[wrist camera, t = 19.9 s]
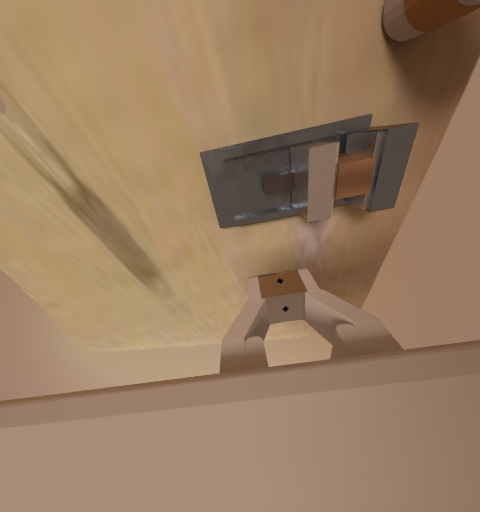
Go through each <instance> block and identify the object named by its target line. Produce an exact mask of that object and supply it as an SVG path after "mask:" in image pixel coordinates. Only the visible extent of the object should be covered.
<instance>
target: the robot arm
mask: <svg viewBox="0 0 480 512" xmlns="http://www.w3.org/2000/svg"><path fill="white" fill-rule="evenodd" d="M248 285H249V294H250V301H247V303H246V304H245V306H244V307H243V309H242V310H241V312H240V313H239V315H238V316H237V318H236V319H235V321H234V322H233V324H232V326H231V327H230V329H229V330H228V332H227V333H226V335H225V336H224V338H223V339H222V346H221V361H220V373H219V374H211V375H204V376H195V377H188V378H180V379H172V380H164V381H156V382H148V383H141V384H133V385H125V386H117V387H109V388H101V389H93V390H85V391H77V392H69V393H61V394H53V395H46V396H38V397H30V398H22V399H13V400H5V401H0V512H480V340H477V341H469V342H461V343H453V344H445V345H438V346H430V347H422V348H414V349H406V350H404V349H403V348H402V347H401V346H400V345H399V343H398V342H397V341H396V340H395V339H394V337H393V336H392V335H391V334H390V332H389V331H388V330H387V329H386V327H385V326H384V325H383V324H382V323H381V321H380V320H379V319H378V318H376V317H374V316H372V315H371V314H369V313H367V312H365V311H363V310H361V309H359V308H358V307H356V306H354V305H352V304H350V303H348V302H346V301H344V300H343V299H341V298H339V297H337V296H335V295H333V294H331V293H330V292H328V291H326V290H324V289H322V290H320V288H319V287H318V285H317V283H316V282H315V280H314V278H313V277H312V275H311V273H310V272H309V270H308V268H301V269H296V270H291V271H285V272H280V273H273V274H266V275H259V276H253V277H248ZM302 319H304V320H305V321H306V322H307V323H308V324H309V325H310V326H312V327H313V328H314V329H315V330H316V331H317V332H318V333H319V334H321V335H322V336H323V337H324V338H325V339H326V340H327V341H328V342H330V343H331V344H332V345H333V347H332V353H331V358H330V359H329V360H320V361H312V362H304V363H297V364H289V365H281V366H274V367H268V363H267V358H266V353H265V348H264V343H263V341H264V339H265V336H266V334H267V331H268V328H269V326H270V324H274V323H280V322H285V321H293V320H302Z"/></svg>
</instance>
